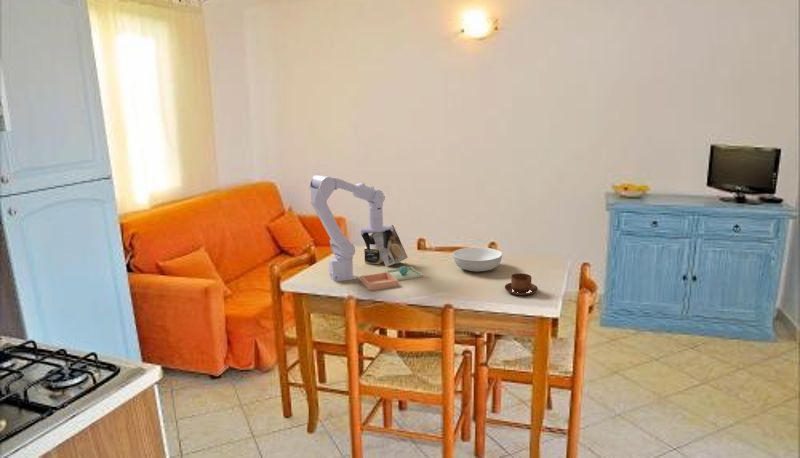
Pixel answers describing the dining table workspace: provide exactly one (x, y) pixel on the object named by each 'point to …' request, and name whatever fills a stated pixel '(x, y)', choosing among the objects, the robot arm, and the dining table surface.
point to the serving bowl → (477, 258)
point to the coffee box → (390, 248)
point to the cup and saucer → (521, 284)
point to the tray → (410, 274)
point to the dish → (379, 281)
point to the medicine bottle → (372, 253)
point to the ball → (403, 270)
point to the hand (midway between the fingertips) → (376, 248)
